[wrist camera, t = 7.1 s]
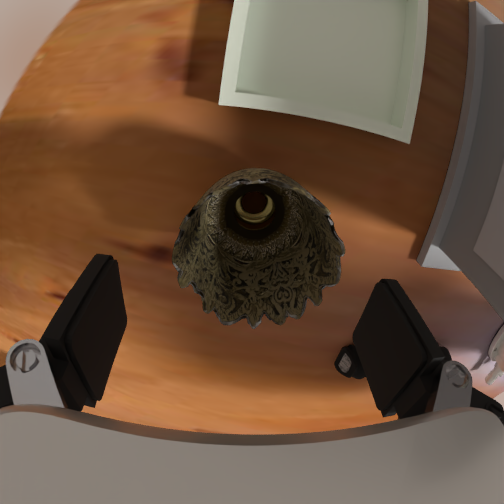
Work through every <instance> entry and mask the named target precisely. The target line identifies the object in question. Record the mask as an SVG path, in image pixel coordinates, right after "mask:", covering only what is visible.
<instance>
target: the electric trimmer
mask: <svg viewBox="0 0 504 504" xmlns="http://www.w3.org/2000/svg"><path fill="white" fill-rule="evenodd" d="M440 348H441V350H442V352H443V354H444V355H445V357H444V359H443V360H442V361H441V362H442V364H443V365H444V364H445V363H446V362H447V361H452V358H451V355H450V353H449V351H448V349H447V348H445V347H440ZM335 368H336V369H337V371H338V372H340V373H341V374H342V375H344V376H346V377H348V378H350V377H354V378H356V379H362V378H364V377H366V375H365V372H364V369H363V366H362V364H361V361H360V358H359V356H358V353H357V350H356V348H355V346H354V345H349V346H348V347H343V348H342V350H341V352H340V353H339V355H338V357H337V359H336V361H335Z"/></svg>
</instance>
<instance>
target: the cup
mask: <svg viewBox="0 0 504 504" xmlns="http://www.w3.org/2000/svg"><path fill="white" fill-rule="evenodd" d="M249 192H261V193H262V194H263V195H264V196H265V198H266V206H265V208H264V209H263V210H262V211H261V212H259V213H255V214H253V213H249V212H247V211H245V210H244V208H243V206H242V198H243V196H244V195H245V194H246V193H249ZM330 214H331V213H330V211H329V210H328V209H327V208H326V207H325V206H324V205H323V204H322V203H321V202H320V201H319V200H318V199H316V198H315V197H314V196H312V195H311V194H310V193H309V192H308V191H307V190H306V189H304V188H303V187H302V186H301V185H300V184H298V183H297V182H295V181H294V180H293V179H291V178H290V177H288V176H286V175H284V174H282V173H279V172H276V171H273V170H269V169H263V168H249V169H243V170H239V171H236V172H233V173H231V174H229V175H227V176H225V177H223V178H222V179H220V180H219V181H218V182H216V183H215V184H214V185H213V186H212V187H211V188H210V189H209V190H208V191H207V192H206V193H205V194H204V195H203V196H202V197H201V199H200V200H199V201H198V202H197V204H196V205H195V206H194V207H193V208H192V210H191V211H190V212H189V214H187V215H186V217H185V218H184V220H183V222H182V223H181V225H180V227H179V229H180V232H179V235H178V238H177V240H176V242H175V245H174V249H173V254H172V263H173V265H174V266H175V267H176V270H177V271H178V272H179V274H178V283H179V285H180V287H181V288H185V287H188V286H189V284H191V285H192V286H193V289H194V292H195V293H197V294H199V295H200V296H201V298H202V301H203V311H204V312H205V313H210V312H211V311H212V310H214V312H215V314H216V316H217V317H218V319H219V321H220V322H221V323H222V324H223V325H232V324H234V323H236V322H238V321H240V320H241V319H243V318H246V319H247V321H248V324H249V325H250V326H251V328H252V329H255V328H256V327H257V326H258V325H259V324H260V323H261V319H262V317H263V314H266V317H267V318H268V319H269V320H272V321H273V322H274V323H276V324H278V325H282V324H284V323H285V320H286V317H288V315H289V316H290V317H292V318H295V319H300V318H301V317H302V315H303V313H304V311H305V308H306V302H307V298H309V299H310V300H311V301H312V302H313V304H314V306H319V305H320V304H321V302H322V289H324V288H325V287H326V286H327V287H332V286H335V285H336V284H338V283H339V281H340V276H341V263H340V257H341V256H344V254H345V247H344V244H343V241H342V240H341V239H340V238H339V237H338V235H337V233H336V231H335V228H334V223H333V221H332V219H331V218H330V216H329V215H330ZM308 301H309V300H308Z"/></svg>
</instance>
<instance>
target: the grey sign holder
mask: <svg viewBox="0 0 504 504" xmlns="http://www.w3.org/2000/svg"><path fill="white" fill-rule="evenodd" d="M416 261H417V262H418V263H419V264H420V265H421V267H429V268H438V269H447V270H456V271H462V272H463V273H464V274H465V275H466V277H467V278H468V279H469V280H470V281H471V282H472V283H473V284H474V286H475V287H476V288H477V289H478V290H479V291H480V293H481V294H482V295H483V296H484V297H485V298H486V300H487V301H488V302H489V303H490V305H491V306H492V307H493V308H494V310H495V311H496V312H497V313H498V315H499V316H500V317H501V318H502V320H503V321H504V23H503V22H501V21H500V20H499V19H498V18H497V17H496V16H494V15H493V14H492V13H491V12H489V11H488V10H487V9H486V8H484V7H483V6H482V5H481V4H479V3H478V2H477V1H473V2H469V45H468V60H467V71H466V80H465V88H464V96H463V102H462V108H461V114H460V120H459V125H458V130H457V134H456V139H455V143H454V148H453V152H452V156H451V160H450V164H449V167H448V171H447V175H446V178H445V182H444V185H443V188H442V192H441V195H440V198H439V201H438V204H437V207H436V210H435V213H434V216H433V219H432V221H431V224H430V227H429V230H428V232H427V235H426V238H425V240H424V243H423V245H422V248H421V250H420V253H419V255H418V257H417V260H416Z"/></svg>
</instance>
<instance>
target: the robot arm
mask: <svg viewBox="0 0 504 504" xmlns="http://www.w3.org/2000/svg"><path fill="white" fill-rule="evenodd" d="M126 325H127V315H126V310H125V305H124V299H123V293H122V287H121V281H120V275H119V268H118V262H117V260H114V259H113V257H112V256H111V255H104V254H96V255H95V256H94V257H93V259H92V260H91V261H90V263H89V264H88V266H87V267H86V269H85V270H84V271H83V273H82V274H81V276H80V277H79V279H78V280H77V282H76V283H75V285H74V286H73V288H72V289H71V290H70V291H69V293H68V294H67V296H66V297H65V299H64V300H63V302H62V304H61V305H60V307H59V308H58V310H57V312H56V313H55V315H54V316H53V318H52V320H51V322H50V323H49V325H48V327H47V328H46V330H45V332H44V334H43V335H42V337H41V339H40V341H39V342H38V341H36V340H33V339H25V340H21V341H19V342H17V343H16V344H14V345H13V346H12V347H11V348H10V350H9V351H8V353H7V356H6V365H4V366H2V367H0V504H504V410H503V407H502V405H501V404H500V403H498V402H497V401H496V400H494V399H492V398H490V397H489V396H487V395H485V394H483V393H482V392H480V391H478V390H476V389H475V388H473V387H472V377H471V374H470V372H469V371H468V369H467V368H466V367H465V366H464V365H462V364H461V363H459V362H457V361H447V362H446V363H445V364H444V365H443V364H442V362H441V361H442V360H443V359H444V357H445V355H444V354H443V352H442V350H441V348H440V347H439V345H438V343H437V342H436V340H435V338H434V337H433V335H432V333H431V332H430V330H429V328H428V327H427V325H426V324H425V322H424V320H423V319H422V317H421V316H420V314H419V313H418V311H417V309H416V308H415V306H414V305H413V303H412V302H411V300H410V299H409V297H408V296H407V294H406V293H405V291H404V290H403V289H402V287H401V286H400V284H399V283H398V281H397V280H394V279H381V280H380V282H378V283H377V284H376V285H375V287H374V289H373V292H372V294H371V296H370V298H369V301H368V303H367V305H366V307H365V309H364V312H363V314H362V316H361V318H360V320H359V322H358V324H357V326H356V328H355V330H354V332H353V343H354V345H355V348H356V350H357V353H358V356H359V358H360V361H361V364H362V366H363V369H364V372H365V375H366V377H367V380H368V383H369V386H370V389H371V392H372V394H373V397H374V400H375V403H376V406H377V408H378V410H381V413H382V416H383V417H387V416H392V415H395V414H396V413H397V415H398V419H397V420H395V421H390V422H385V423H380V424H374V425H368V426H362V427H356V428H349V429H341V430H333V431H323V432H312V433H299V434H276V435H240V434H217V433H202V432H191V431H182V430H173V429H166V428H159V427H152V426H146V425H141V424H135V423H129V422H124V421H119V420H114V419H110V418H105V417H101V416H97V415H92V414H89V413H84V412H81V411H82V409H83V406H84V405H86V406H89V407H93V408H95V405H96V402H97V400H98V401H100V400H101V399H102V396H103V393H104V390H105V387H106V383H107V380H108V377H109V374H110V371H111V368H112V365H113V362H114V359H115V356H116V353H117V350H118V348H119V345H120V342H121V339H122V336H123V334H124V331H125V328H126ZM488 356H489V357H490V359H491V360H492V361H496V363H495V365H494V366H495V368H494V369H493V370H492V371H491V372H490V373H489V374H488V375H487V376H486V377H485V381H486V383H487V384H488V385H491V384H492V383H493V382H494V381H495V380H496V379H497V377H498V376H500V377H501V376H502V375H503V374H504V325H503V326H502V327H501V329H500V330H499V331H498V333H497V334H496V336H495V337H494V339H493V341H492V343H491V345H490V347H489V351H488Z"/></svg>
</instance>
